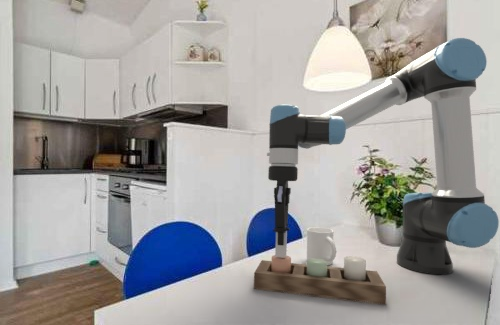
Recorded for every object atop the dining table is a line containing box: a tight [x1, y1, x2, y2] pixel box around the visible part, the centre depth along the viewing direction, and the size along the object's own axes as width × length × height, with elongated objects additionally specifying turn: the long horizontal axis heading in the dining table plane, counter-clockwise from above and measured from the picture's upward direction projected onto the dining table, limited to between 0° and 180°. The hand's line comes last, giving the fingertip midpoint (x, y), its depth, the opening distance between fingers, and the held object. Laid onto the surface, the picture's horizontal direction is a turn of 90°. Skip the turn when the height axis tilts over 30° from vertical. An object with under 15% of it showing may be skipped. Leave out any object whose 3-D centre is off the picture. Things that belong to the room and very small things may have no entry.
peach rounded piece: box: [271, 254, 292, 274], centre depth 74 cm, size 5×5×4 cm
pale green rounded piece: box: [306, 258, 328, 278], centre depth 72 cm, size 5×5×4 cm
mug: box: [306, 226, 337, 266], centre depth 91 cm, size 12×8×10 cm
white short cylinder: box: [343, 255, 367, 281], centre depth 70 cm, size 5×5×4 cm
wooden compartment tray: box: [253, 259, 387, 306], centre depth 72 cm, size 30×10×4 cm, turn 77°
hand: (280, 256), depth 74 cm, fingers closed
